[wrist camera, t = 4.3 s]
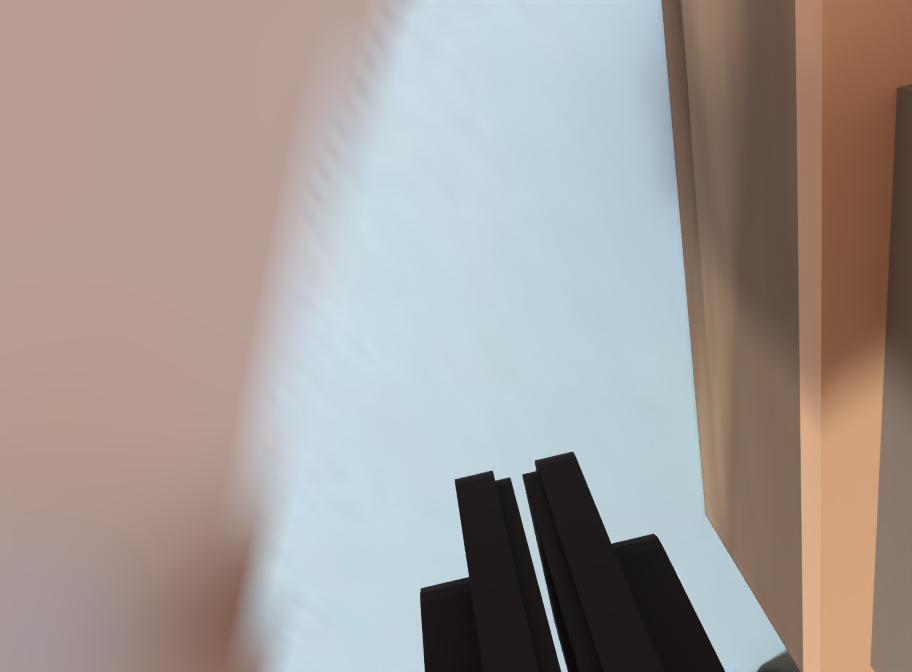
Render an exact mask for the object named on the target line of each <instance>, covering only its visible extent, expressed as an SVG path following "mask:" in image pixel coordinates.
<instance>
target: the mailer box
mask: <svg viewBox="0 0 912 672" xmlns="http://www.w3.org/2000/svg"><path fill="white" fill-rule="evenodd" d="M662 11H663V22H664V34H665V46H666V57H667V69H668V81H669V92H670V104H671V116H672V128H673V139H674V151H675V163H676V174H677V186H678V198H679V209H680V221H681V233H682V245H683V256H684V268H685V280H686V291H687V303H688V315H689V327H690V338H691V350H692V362H693V373H694V385H695V397H696V408H697V420H698V432H699V444H700V455H701V467H702V479H703V490H704V502H705V514H706V516H707V518H708V520H709V521H710V523H711V525H712V526H713V528H714V530H715V531H716V533H717V535H718V536H719V538H720V540H721V541H722V543H723V544H724V546H725V548H726V549H727V551H728V553H729V554H730V556H731V558H732V559H733V561H734V563H735V564H736V566H737V568H738V569H739V571H740V573H741V574H742V576H743V578H744V579H745V581H746V583H747V584H748V586H749V588H750V589H751V591H752V592H753V594H754V596H755V597H756V599H757V601H758V602H759V604H760V606H761V607H762V609H763V611H764V612H765V614H766V616H767V617H768V619H769V621H770V622H771V624H772V626H773V627H774V629H775V631H776V632H777V634H778V636H779V637H780V639H781V641H782V642H783V644H784V645H785V647H786V649H787V650H788V652H789V654H790V655H791V657H792V659H793V660H794V662H795V664H796V665H797V667H798V669H799V670H800V672H803V606H802V522H801V438H800V354H799V270H798V186H797V102H796V18H795V0H662Z"/></svg>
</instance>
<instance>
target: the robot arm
mask: <svg viewBox="0 0 912 672" xmlns="http://www.w3.org/2000/svg"><path fill="white" fill-rule="evenodd" d="M535 466H536V471H535V472H531V473H526V474H522V475H523V481H524V485H525V490H526V494H527V499H528V503H529V508H530V513H531V517H532V522H533V526H534V531H535V535H536V540H537V544H538V549H539V554H540V558H541V563H542V567H543V572H544V576H545V581H546V585H547V590H548V594H549V599H550V604H551V608H552V613H553V617H554V621H555V625H556V629H557V633H558V637H559V641H560V644H561V648H562V652H563V655H564V659H565V663H566V666H567V670H568V672H725V671H724V668H723V666H722V664H721V662H720V660H719V658H718V656H717V654H716V652H715V650H714V648H713V646H712V644H711V642H710V640H709V638H708V636H707V634H706V632H705V630H704V628H703V626H702V624H701V622H700V620H699V618H698V616H697V614H696V612H695V610H694V608H693V606H692V604H691V602H690V600H689V598H688V596H687V594H686V592H685V590H684V588H683V586H682V584H681V582H680V580H679V578H678V576H677V574H676V572H675V570H674V568H673V566H672V564H671V562H670V560H669V558H668V556H667V554H666V552H665V550H664V548H663V546H662V544H661V542H660V541H659V539H658V537H657V536H656V535H655V534H651V535H647V536H642V537H638V538H634V539H630V540H625V541H621V542H617V543H613V544H611V542H610V539H609V537H608V534H607V532H606V530H605V527H604V525H603V522H602V520H601V517H600V515H599V512H598V510H597V508H596V505H595V503H594V500H593V498H592V495H591V493H590V490H589V488H588V485H587V483H586V481H585V478H584V476H583V473H582V471H581V468H580V466H579V463H578V461H577V459H576V456H575V454H574V453H573V452H569V453H565V454H561V455H556V456H552V457H548V458H544V459H540V460H535ZM455 486H456V492H457V499H458V506H459V512H460V519H461V526H462V532H463V539H464V546H465V552H466V559H467V566H468V572H469V577H467V578H463V579H459V580H455V581H450V582H446V583H442V584H438V585H433V586H429V587H425V588H421V592H420V604H421V619H422V634H423V649H424V664H425V672H561V669H560V666H559V662H558V658H557V654H556V650H555V646H554V643H553V639H552V635H551V631H550V627H549V624H548V620H547V616H546V612H545V608H544V604H543V601H542V597H541V593H540V589H539V585H538V582H537V578H536V574H535V570H534V566H533V562H532V559H531V555H530V551H529V547H528V543H527V539H526V536H525V532H524V528H523V524H522V520H521V517H520V513H519V509H518V505H517V501H516V497H515V494H514V490H513V486H512V482H511V478H510V477H509V478H505V479H501V480H497V481H495V478H494V474H493V471H489V472H484V473H480V474H476V475H472V476H467V477H463V478H459V479H455Z"/></svg>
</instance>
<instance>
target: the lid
mask: <svg viewBox="0 0 912 672" xmlns="http://www.w3.org/2000/svg"><path fill="white" fill-rule="evenodd" d="M795 18H796V102H797V186H798V270H799V354H800V438H801V522H802V606H803V672H912V0H795Z"/></svg>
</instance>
